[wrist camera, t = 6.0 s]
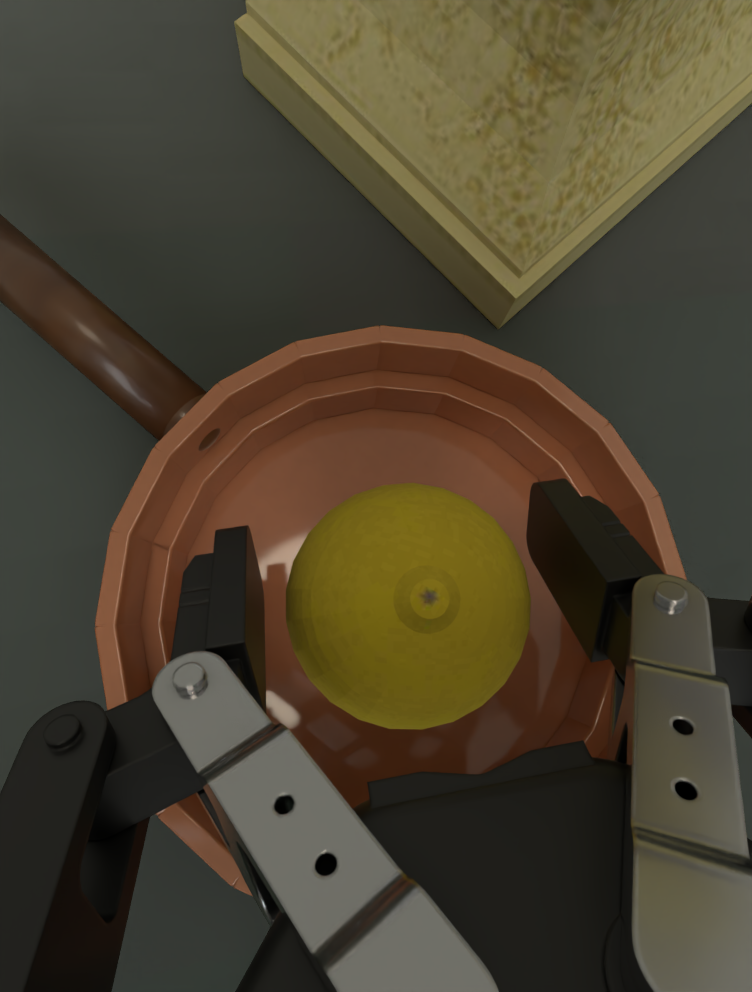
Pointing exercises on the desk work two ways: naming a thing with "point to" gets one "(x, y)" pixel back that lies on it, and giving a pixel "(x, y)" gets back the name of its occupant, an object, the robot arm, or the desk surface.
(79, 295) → the pan handle
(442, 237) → the decorative clock
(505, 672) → the lemon
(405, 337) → the pan
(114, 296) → the desk surface
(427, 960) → the robot arm
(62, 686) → the desk surface
